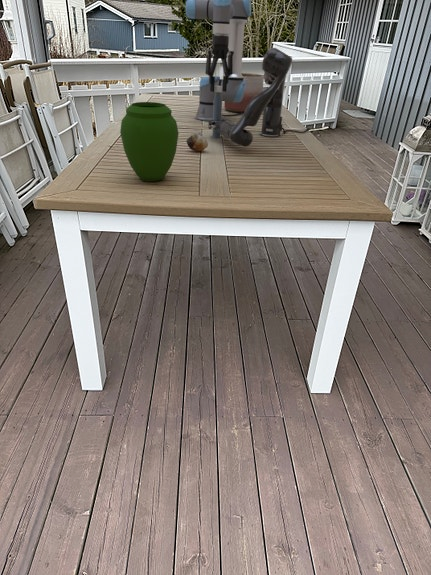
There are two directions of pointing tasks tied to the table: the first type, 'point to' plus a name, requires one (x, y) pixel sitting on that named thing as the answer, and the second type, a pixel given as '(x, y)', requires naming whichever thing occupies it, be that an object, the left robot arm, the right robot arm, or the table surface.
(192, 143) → the seashell
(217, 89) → the cap
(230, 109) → the planter
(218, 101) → the bottle
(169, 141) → the vase
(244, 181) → the table surface
